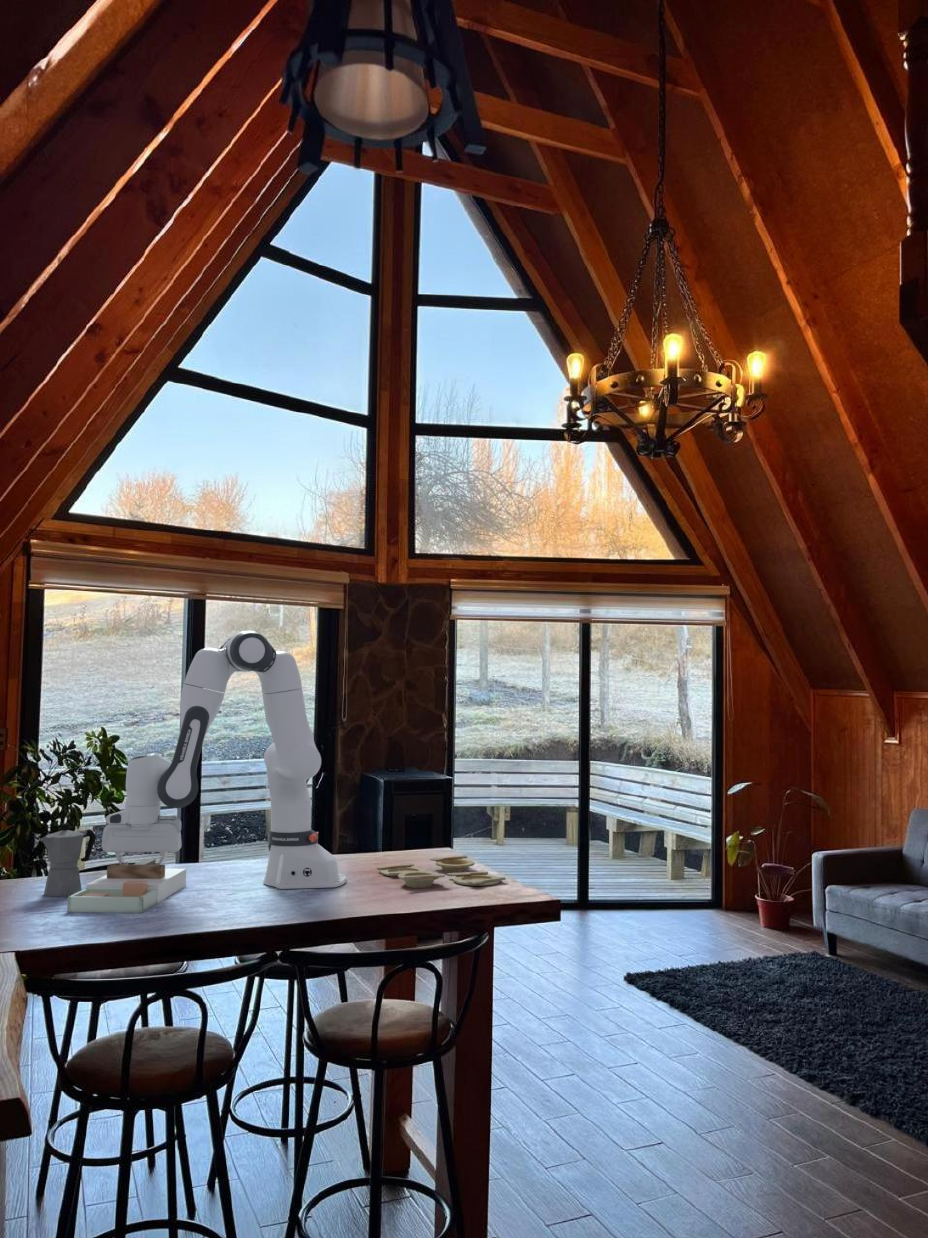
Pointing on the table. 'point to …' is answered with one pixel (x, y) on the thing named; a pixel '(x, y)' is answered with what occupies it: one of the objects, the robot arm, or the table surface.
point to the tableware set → (450, 865)
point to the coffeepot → (65, 860)
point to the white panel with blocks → (148, 883)
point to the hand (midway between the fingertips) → (141, 869)
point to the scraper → (137, 870)
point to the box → (111, 901)
